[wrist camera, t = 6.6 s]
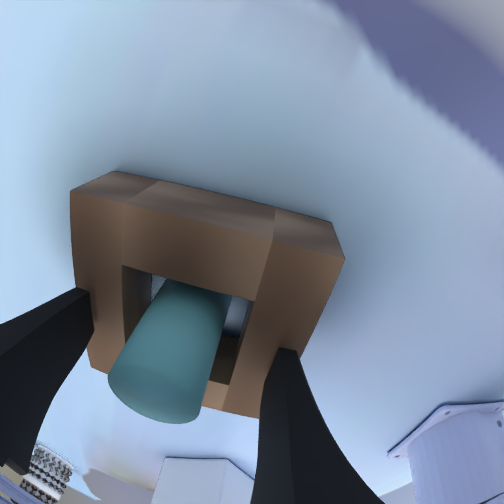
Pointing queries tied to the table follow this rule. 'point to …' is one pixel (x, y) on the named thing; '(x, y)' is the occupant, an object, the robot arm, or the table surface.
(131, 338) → the peg
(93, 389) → the table surface
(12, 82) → the table surface
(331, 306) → the table surface
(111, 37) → the table surface
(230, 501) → the medicine bottle
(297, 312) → the socket block
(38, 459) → the decorative candle
